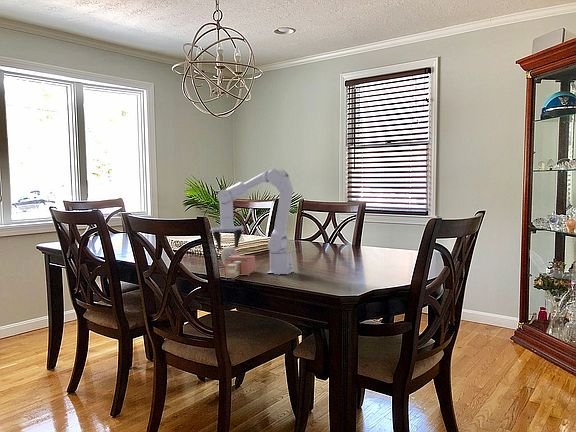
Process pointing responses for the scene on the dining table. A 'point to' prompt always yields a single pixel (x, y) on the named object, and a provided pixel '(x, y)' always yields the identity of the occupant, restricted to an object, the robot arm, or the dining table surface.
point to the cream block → (233, 269)
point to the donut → (227, 253)
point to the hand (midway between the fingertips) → (227, 248)
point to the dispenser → (242, 263)
